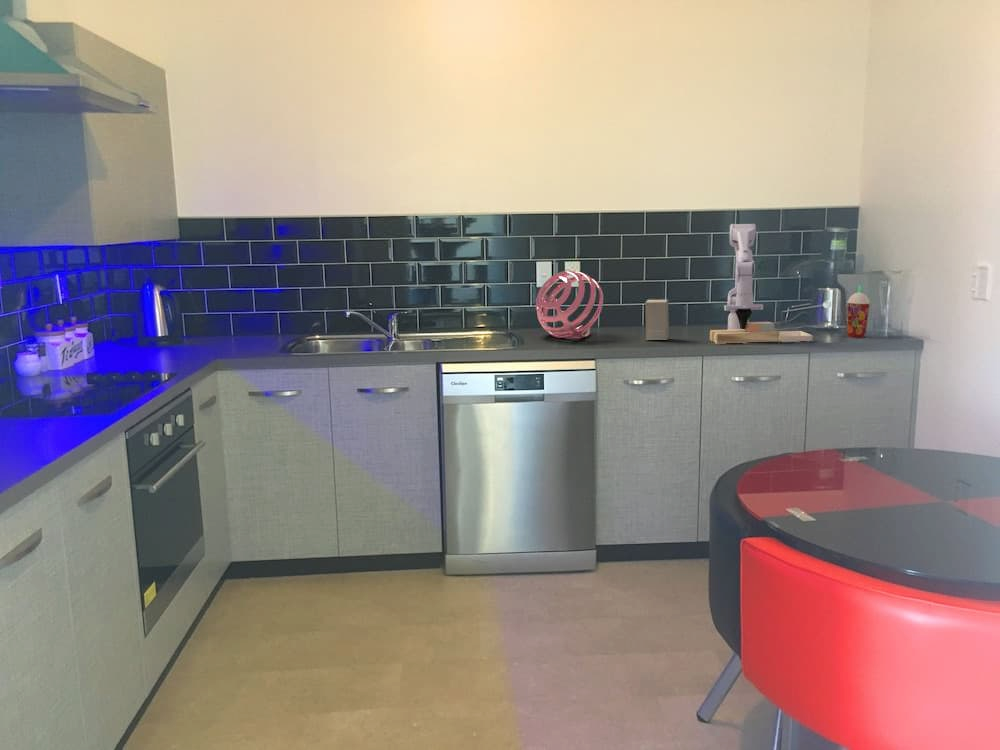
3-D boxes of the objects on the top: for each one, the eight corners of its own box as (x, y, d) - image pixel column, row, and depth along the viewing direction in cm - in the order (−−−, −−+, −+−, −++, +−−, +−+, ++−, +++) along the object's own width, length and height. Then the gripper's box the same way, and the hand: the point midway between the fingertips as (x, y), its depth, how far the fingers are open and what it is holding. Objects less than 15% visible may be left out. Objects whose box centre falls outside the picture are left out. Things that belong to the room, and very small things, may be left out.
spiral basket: (585, 283, 358) (550, 250, 339) (630, 304, 338) (595, 270, 319) (548, 336, 358) (511, 307, 339) (590, 361, 338) (553, 331, 319)
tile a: (743, 330, 325) (743, 322, 324) (756, 329, 325) (756, 322, 325) (748, 332, 320) (748, 324, 319) (760, 331, 320) (761, 323, 320)
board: (709, 340, 327) (710, 330, 326) (770, 338, 328) (770, 328, 328) (717, 344, 318) (717, 333, 318) (778, 342, 320) (779, 332, 319)
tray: (769, 338, 329) (770, 331, 329) (800, 337, 330) (801, 330, 330) (780, 342, 319) (781, 336, 318) (812, 342, 319) (813, 335, 319)
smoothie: (868, 335, 331) (871, 284, 327) (867, 338, 324) (871, 287, 320) (845, 334, 335) (848, 284, 331) (844, 337, 327) (847, 286, 323)
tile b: (756, 329, 325) (756, 322, 325) (768, 329, 326) (769, 321, 325) (760, 331, 320) (761, 324, 320) (773, 331, 321) (774, 323, 320)
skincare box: (668, 339, 332) (669, 299, 329) (666, 342, 325) (667, 301, 322) (647, 338, 335) (648, 298, 331) (644, 341, 328) (645, 300, 325)
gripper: (728, 295, 315) (727, 330, 318) (766, 294, 316) (765, 329, 319) (722, 293, 322) (721, 328, 325) (760, 292, 323) (758, 327, 326)
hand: (742, 328), depth 322 cm, fingers closed
